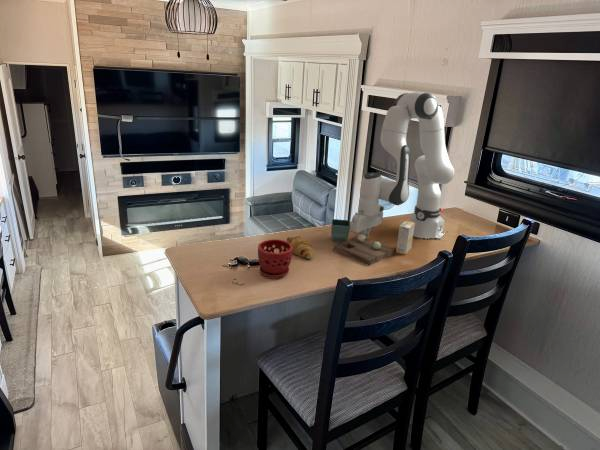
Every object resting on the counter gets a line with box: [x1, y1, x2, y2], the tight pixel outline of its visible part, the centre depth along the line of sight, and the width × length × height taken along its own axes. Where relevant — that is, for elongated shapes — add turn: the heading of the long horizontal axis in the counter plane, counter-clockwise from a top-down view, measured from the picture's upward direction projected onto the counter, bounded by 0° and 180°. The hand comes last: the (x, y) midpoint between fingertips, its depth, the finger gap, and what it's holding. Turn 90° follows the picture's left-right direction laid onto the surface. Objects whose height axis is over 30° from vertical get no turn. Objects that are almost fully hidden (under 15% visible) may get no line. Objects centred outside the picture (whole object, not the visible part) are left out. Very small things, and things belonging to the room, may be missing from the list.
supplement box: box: [395, 220, 415, 256], centre depth 186 cm, size 8×5×13 cm, turn 149°
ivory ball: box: [357, 233, 366, 242], centre depth 190 cm, size 3×3×3 cm
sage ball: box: [373, 241, 382, 249], centre depth 182 cm, size 3×3×3 cm
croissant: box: [286, 235, 314, 260], centre depth 182 cm, size 21×10×8 cm, turn 30°
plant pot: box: [257, 238, 293, 279], centre depth 159 cm, size 13×13×12 cm
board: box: [332, 235, 395, 267], centre depth 184 cm, size 18×20×2 cm
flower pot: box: [330, 218, 351, 243], centre depth 196 cm, size 9×9×9 cm
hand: (365, 237), depth 192 cm, fingers closed
